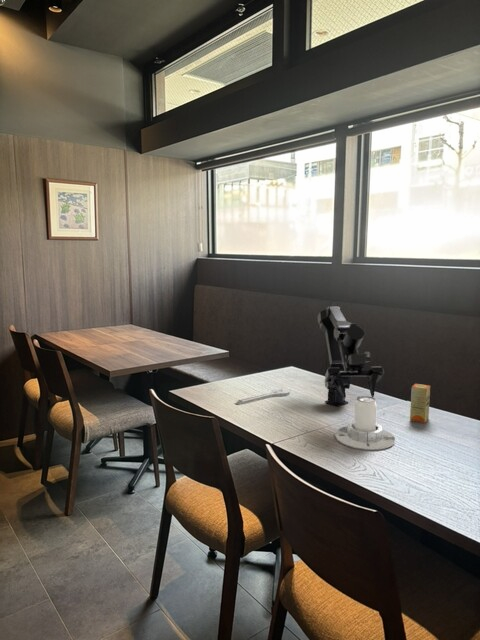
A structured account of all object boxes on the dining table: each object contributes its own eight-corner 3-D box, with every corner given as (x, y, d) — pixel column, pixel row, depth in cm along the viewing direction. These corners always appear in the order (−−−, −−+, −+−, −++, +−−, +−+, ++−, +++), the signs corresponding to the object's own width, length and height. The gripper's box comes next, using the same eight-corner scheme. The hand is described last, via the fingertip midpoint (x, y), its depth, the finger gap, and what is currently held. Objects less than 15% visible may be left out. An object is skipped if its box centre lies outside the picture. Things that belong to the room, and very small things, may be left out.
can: (349, 434, 149) (350, 397, 147) (364, 430, 152) (365, 394, 151) (364, 441, 144) (366, 403, 142) (379, 437, 147) (381, 399, 145)
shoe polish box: (409, 420, 163) (411, 386, 161) (413, 416, 167) (415, 383, 165) (424, 423, 160) (426, 389, 158) (428, 419, 164) (430, 385, 162)
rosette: (359, 423, 160) (359, 412, 160) (406, 439, 147) (407, 428, 146) (323, 436, 149) (323, 425, 149) (371, 455, 135) (371, 443, 135)
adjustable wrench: (238, 406, 181) (238, 402, 180) (230, 401, 186) (230, 397, 186) (292, 395, 193) (292, 391, 193) (282, 391, 198) (282, 387, 198)
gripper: (327, 343, 155) (335, 386, 146) (383, 342, 156) (394, 384, 147) (321, 361, 164) (328, 402, 155) (374, 360, 165) (384, 400, 156)
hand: (359, 397), depth 153 cm, fingers open, 9 cm apart
